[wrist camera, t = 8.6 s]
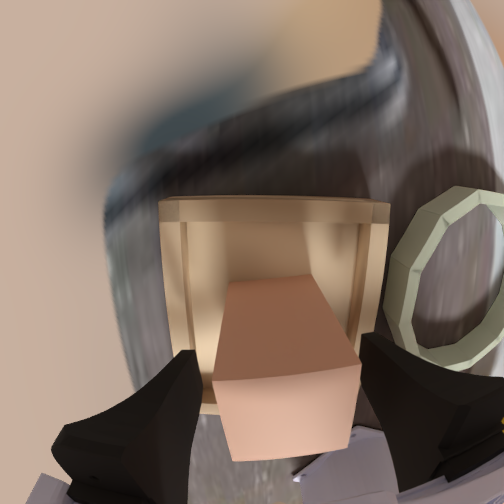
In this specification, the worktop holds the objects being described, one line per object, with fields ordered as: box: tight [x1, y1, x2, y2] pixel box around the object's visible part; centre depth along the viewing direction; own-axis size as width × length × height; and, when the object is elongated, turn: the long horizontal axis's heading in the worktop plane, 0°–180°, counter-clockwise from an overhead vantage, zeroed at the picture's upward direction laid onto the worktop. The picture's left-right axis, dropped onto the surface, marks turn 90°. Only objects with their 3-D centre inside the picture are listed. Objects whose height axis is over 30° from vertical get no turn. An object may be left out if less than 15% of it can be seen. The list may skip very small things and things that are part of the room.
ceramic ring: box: [382, 186, 504, 371], centre depth 16 cm, size 13×13×2 cm
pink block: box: [212, 274, 362, 461], centre depth 12 cm, size 4×4×8 cm
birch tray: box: [158, 195, 391, 415], centre depth 16 cm, size 13×11×2 cm
